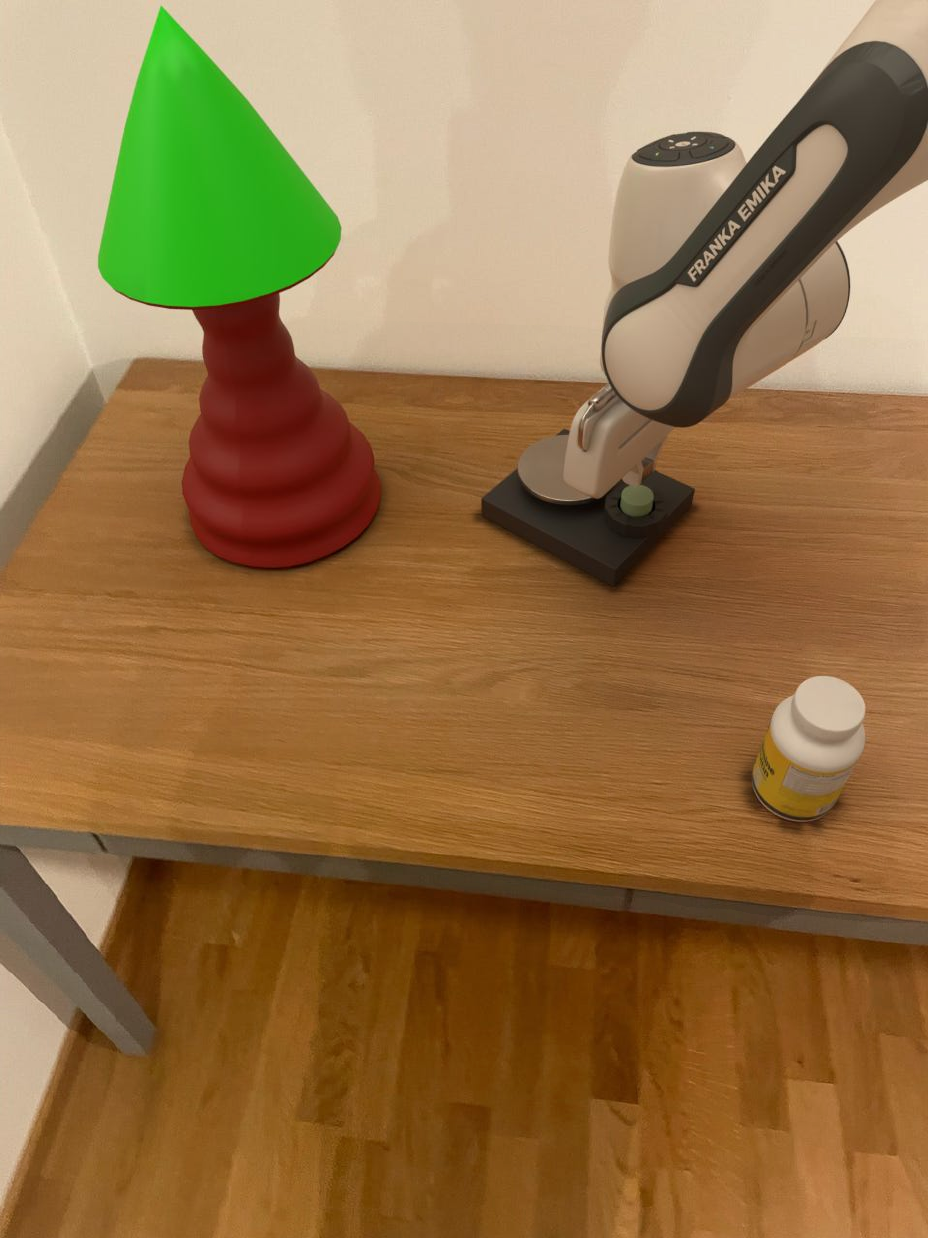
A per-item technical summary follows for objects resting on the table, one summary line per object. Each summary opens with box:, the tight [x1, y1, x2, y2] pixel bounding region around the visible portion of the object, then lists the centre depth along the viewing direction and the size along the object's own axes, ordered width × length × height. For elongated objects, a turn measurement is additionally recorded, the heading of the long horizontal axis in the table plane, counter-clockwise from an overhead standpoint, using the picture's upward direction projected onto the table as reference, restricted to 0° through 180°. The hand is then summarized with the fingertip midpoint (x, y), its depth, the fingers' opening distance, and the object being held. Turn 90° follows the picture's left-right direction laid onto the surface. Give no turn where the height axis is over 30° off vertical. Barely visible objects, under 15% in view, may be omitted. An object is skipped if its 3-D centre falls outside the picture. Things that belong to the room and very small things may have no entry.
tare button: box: [620, 485, 654, 517], centre depth 88 cm, size 3×3×2 cm
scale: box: [480, 428, 696, 587], centre depth 92 cm, size 16×14×4 cm
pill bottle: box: [751, 675, 866, 823], centre depth 68 cm, size 6×6×12 cm
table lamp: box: [97, 5, 382, 569], centre depth 79 cm, size 20×20×45 cm
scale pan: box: [517, 435, 615, 505], centre depth 91 cm, size 10×10×1 cm
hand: (638, 476), depth 86 cm, fingers closed
